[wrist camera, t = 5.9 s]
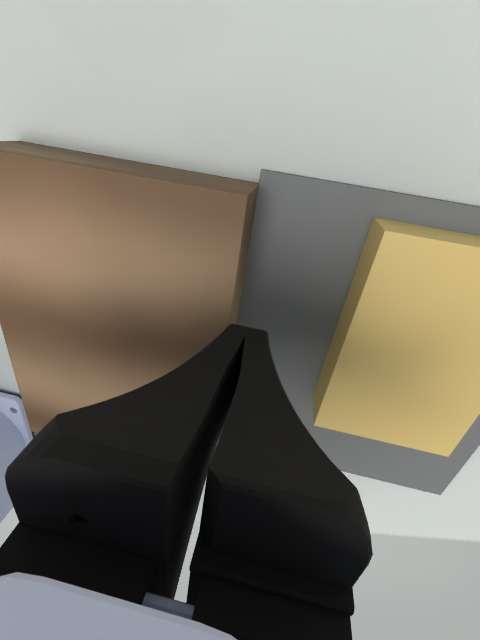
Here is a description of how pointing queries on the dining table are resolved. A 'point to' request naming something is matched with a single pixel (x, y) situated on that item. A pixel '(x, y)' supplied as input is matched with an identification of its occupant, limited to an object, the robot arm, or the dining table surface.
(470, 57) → the dining table surface
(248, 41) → the dining table surface
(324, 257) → the mat
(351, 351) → the yellow rectangular block
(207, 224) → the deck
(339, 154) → the dining table surface
